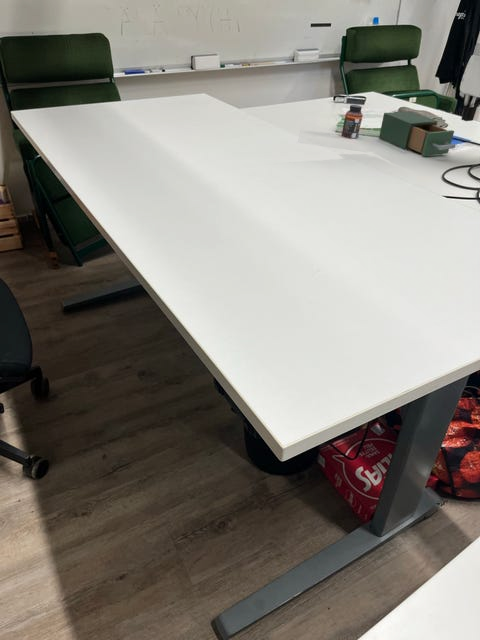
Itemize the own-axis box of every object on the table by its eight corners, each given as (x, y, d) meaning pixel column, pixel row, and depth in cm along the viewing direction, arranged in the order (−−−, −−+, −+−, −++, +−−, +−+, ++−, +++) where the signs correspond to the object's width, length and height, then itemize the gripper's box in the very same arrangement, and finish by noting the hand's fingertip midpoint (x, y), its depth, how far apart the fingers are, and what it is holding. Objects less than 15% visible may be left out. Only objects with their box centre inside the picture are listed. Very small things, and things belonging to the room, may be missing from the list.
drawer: (457, 157, 158) (464, 134, 154) (432, 160, 155) (438, 137, 151) (421, 142, 171) (426, 120, 167) (397, 144, 168) (402, 122, 164)
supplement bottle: (357, 142, 171) (365, 108, 165) (340, 139, 172) (347, 106, 165) (356, 138, 176) (364, 105, 170) (340, 136, 176) (347, 103, 170)
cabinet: (430, 148, 169) (437, 121, 163) (404, 151, 165) (410, 123, 160) (404, 136, 179) (410, 111, 174) (378, 139, 176) (383, 112, 170)
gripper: (519, 55, 130) (495, 126, 141) (478, 48, 141) (458, 113, 152) (499, 56, 128) (475, 127, 139) (459, 48, 139) (440, 114, 150)
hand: (466, 120), depth 145 cm, fingers closed
